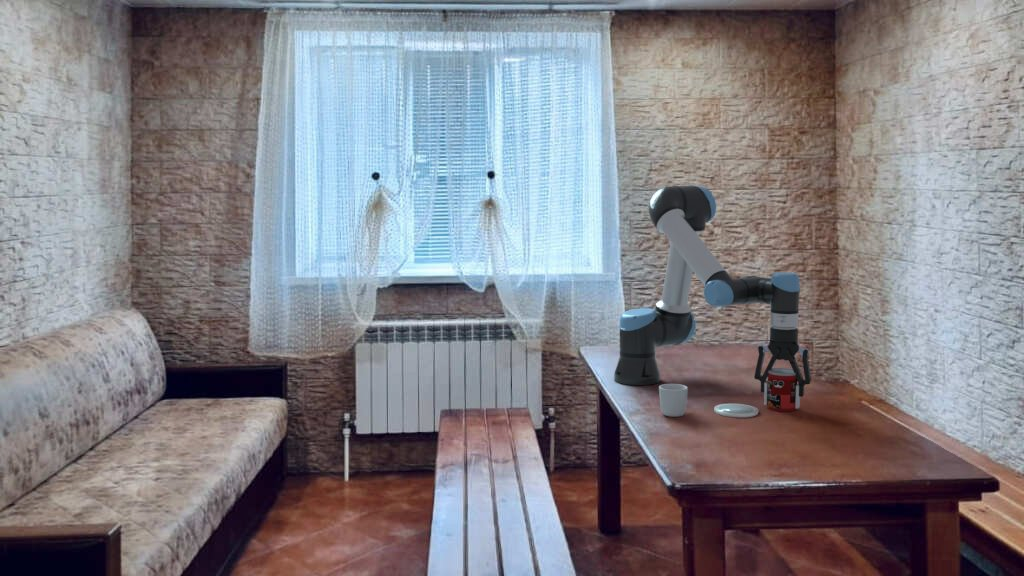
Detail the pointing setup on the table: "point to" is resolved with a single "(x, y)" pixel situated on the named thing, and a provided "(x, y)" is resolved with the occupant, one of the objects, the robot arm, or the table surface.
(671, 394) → the cup
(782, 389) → the canned food
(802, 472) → the table surface
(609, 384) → the table surface
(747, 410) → the plate
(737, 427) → the table surface
